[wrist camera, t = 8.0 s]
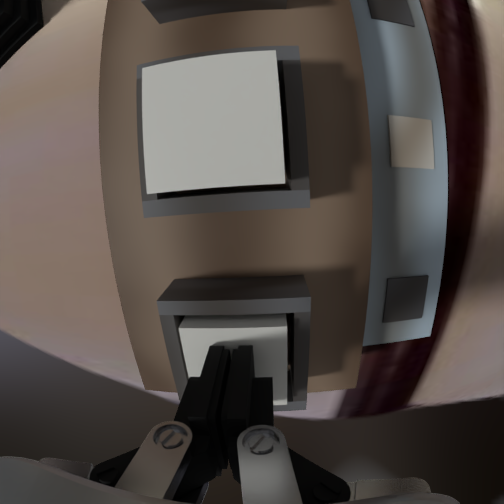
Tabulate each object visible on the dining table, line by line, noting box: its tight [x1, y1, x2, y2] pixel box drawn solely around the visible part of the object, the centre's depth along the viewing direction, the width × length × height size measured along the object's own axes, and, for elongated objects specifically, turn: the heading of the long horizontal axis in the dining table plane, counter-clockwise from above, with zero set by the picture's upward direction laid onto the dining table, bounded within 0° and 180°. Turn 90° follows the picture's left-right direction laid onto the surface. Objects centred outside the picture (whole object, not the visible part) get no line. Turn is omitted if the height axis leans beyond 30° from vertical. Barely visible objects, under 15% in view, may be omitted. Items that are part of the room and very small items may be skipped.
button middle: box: [142, 50, 285, 194], centre depth 9 cm, size 4×4×2 cm
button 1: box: [179, 313, 287, 405], centre depth 12 cm, size 4×4×2 cm
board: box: [99, 0, 448, 411], centre depth 12 cm, size 18×26×5 cm
